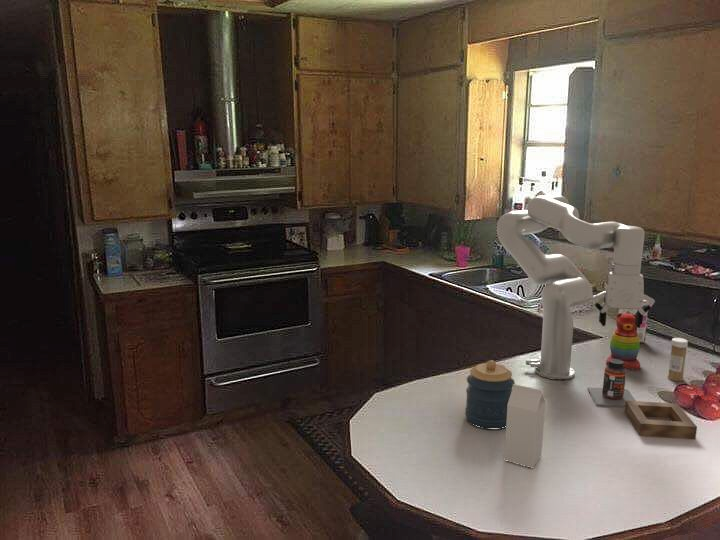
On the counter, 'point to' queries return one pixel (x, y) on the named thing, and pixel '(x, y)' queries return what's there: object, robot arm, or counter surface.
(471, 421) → the canister
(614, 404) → the slate coaster
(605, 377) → the supplement bottle
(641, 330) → the candy bar box
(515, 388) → the milk carton
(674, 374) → the sprinkles bottle
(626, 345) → the stacking bear
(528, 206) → the robot arm
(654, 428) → the pocket block
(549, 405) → the counter surface
